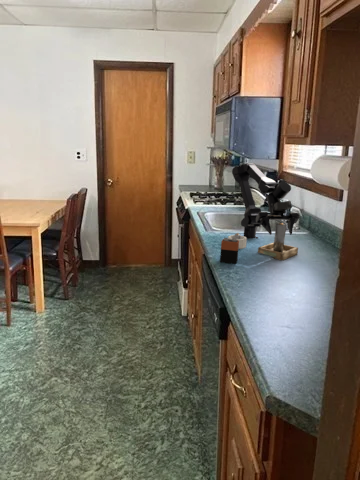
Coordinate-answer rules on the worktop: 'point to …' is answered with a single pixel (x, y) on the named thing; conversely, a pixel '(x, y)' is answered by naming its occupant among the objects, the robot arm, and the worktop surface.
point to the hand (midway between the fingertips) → (281, 234)
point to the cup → (240, 241)
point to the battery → (229, 250)
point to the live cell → (279, 237)
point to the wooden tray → (287, 252)
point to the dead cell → (237, 236)
